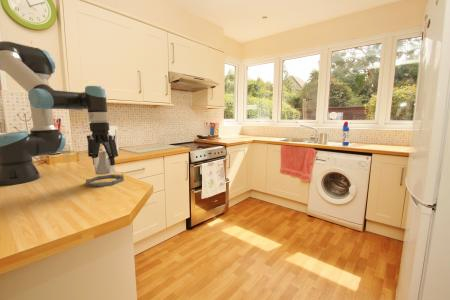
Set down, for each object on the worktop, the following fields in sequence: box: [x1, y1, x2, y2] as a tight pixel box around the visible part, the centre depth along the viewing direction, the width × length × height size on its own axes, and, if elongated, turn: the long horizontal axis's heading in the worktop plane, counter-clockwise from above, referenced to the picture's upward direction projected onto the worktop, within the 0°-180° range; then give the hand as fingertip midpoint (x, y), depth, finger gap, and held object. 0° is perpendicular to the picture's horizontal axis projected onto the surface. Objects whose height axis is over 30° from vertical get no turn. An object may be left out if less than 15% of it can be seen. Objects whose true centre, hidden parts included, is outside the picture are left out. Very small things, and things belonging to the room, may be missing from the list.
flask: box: [95, 150, 110, 176], centre depth 97 cm, size 7×7×10 cm
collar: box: [85, 173, 125, 188], centre depth 98 cm, size 15×15×2 cm
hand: (105, 171), depth 98 cm, fingers closed on flask, 7 cm apart
